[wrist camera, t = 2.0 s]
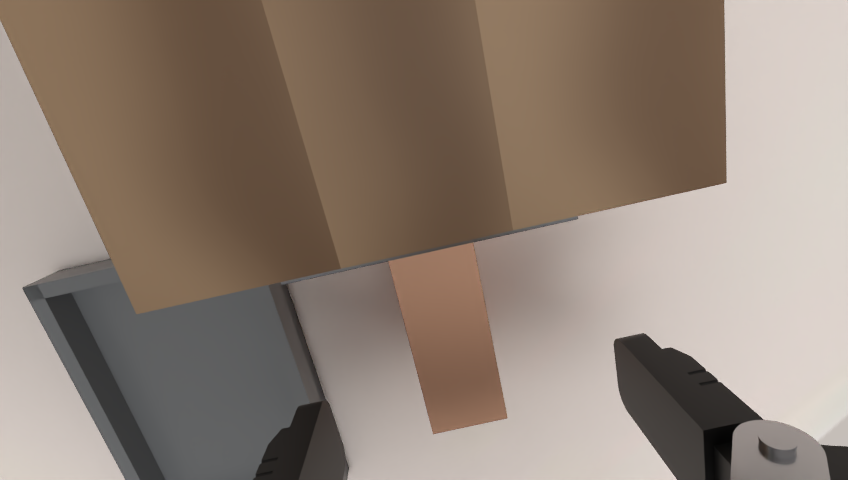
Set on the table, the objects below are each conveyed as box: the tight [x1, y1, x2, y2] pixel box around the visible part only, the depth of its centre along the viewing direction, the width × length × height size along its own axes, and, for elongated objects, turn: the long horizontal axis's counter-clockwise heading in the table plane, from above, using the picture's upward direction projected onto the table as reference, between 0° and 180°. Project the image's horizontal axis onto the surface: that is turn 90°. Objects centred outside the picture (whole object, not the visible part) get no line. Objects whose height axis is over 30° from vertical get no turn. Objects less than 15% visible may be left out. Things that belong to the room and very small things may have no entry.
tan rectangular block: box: [388, 243, 507, 434], centre depth 16 cm, size 2×10×6 cm, turn 13°
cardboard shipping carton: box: [0, 0, 726, 314], centre depth 12 cm, size 12×10×10 cm
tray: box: [23, 259, 349, 480], centre depth 19 cm, size 9×13×2 cm
